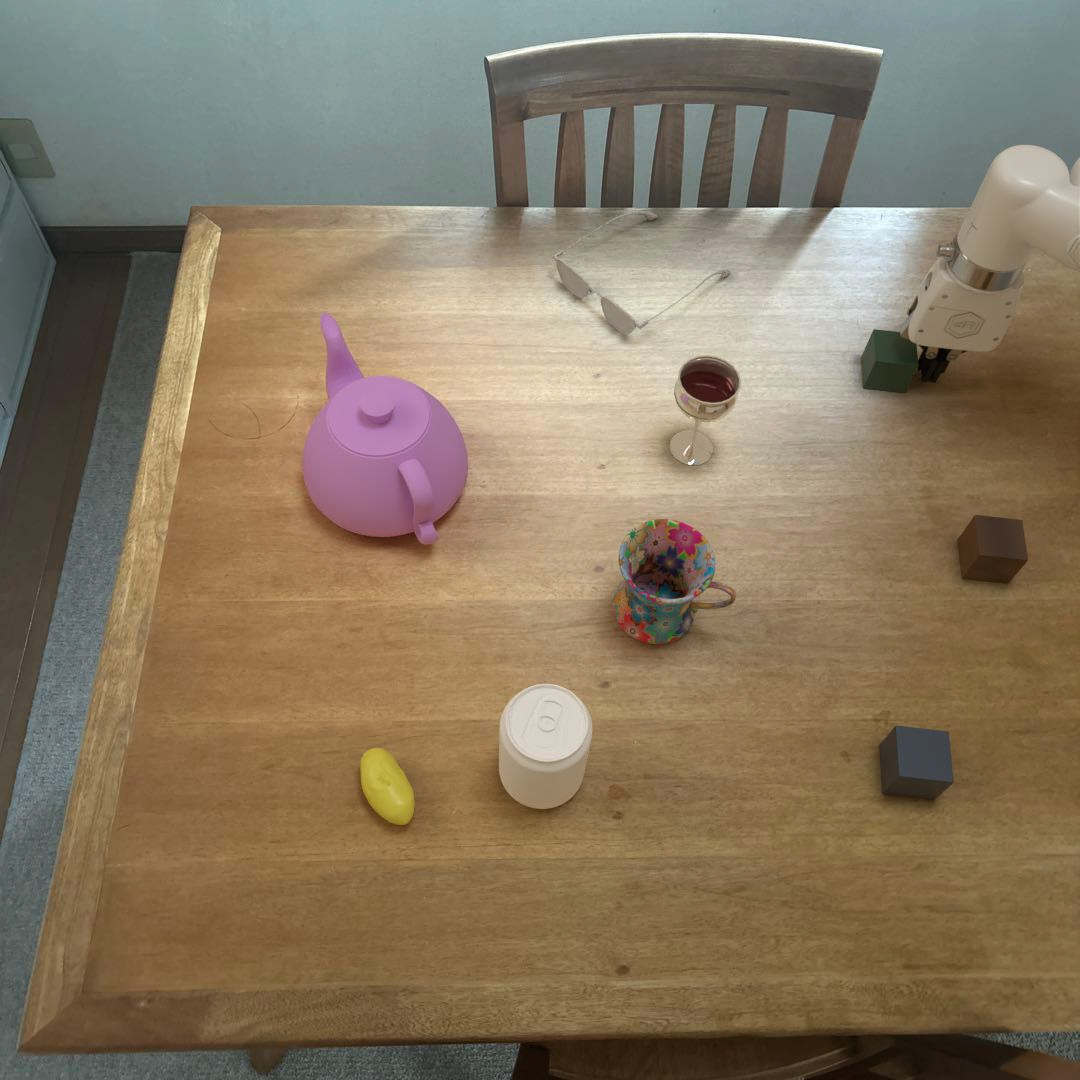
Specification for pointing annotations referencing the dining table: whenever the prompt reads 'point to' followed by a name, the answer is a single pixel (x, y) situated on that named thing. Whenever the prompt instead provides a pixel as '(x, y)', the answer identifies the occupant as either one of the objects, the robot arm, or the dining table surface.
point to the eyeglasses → (610, 308)
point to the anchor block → (916, 762)
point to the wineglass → (703, 403)
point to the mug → (664, 580)
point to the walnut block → (992, 549)
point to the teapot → (381, 451)
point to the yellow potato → (386, 786)
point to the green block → (888, 362)
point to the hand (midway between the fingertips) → (927, 373)
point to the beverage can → (544, 745)
